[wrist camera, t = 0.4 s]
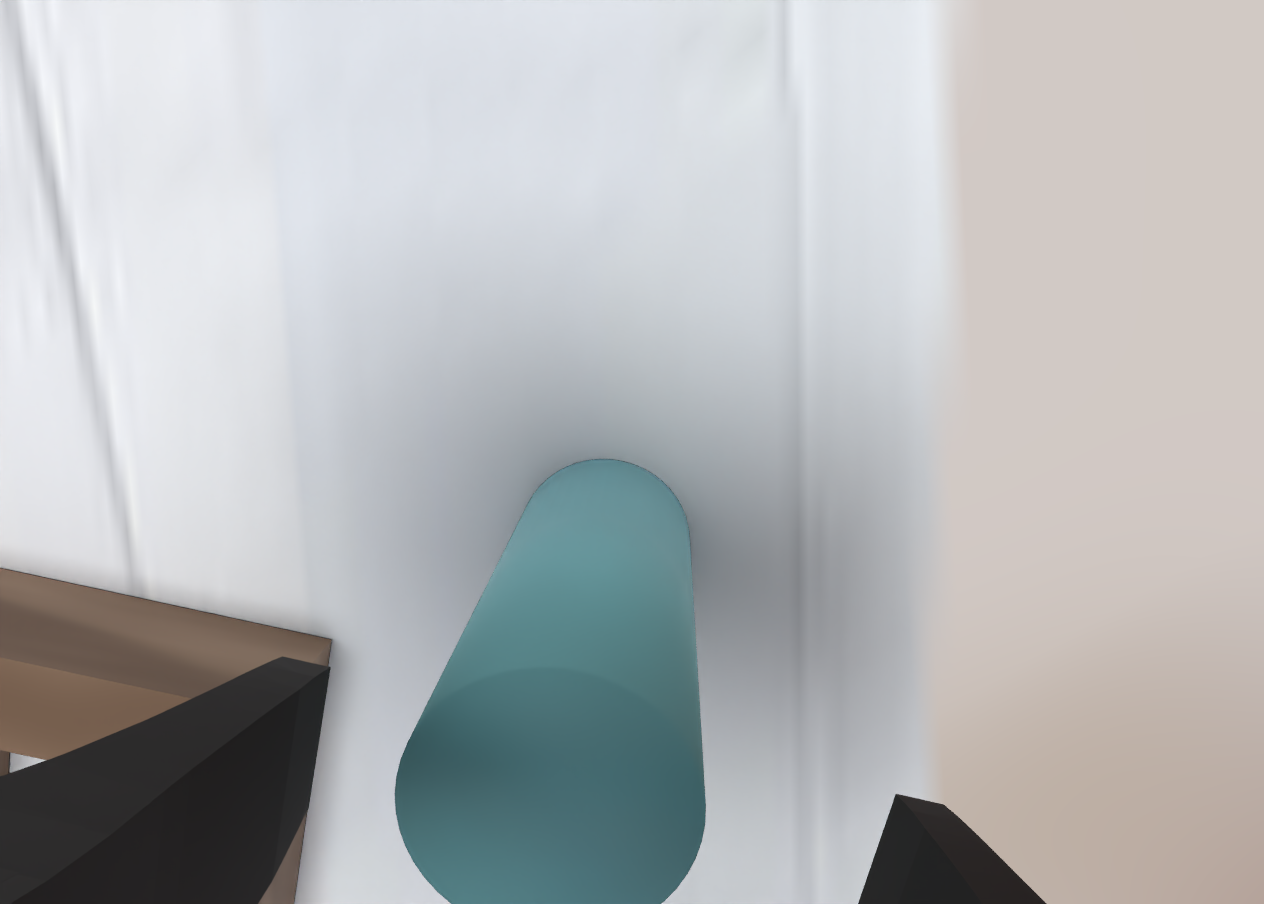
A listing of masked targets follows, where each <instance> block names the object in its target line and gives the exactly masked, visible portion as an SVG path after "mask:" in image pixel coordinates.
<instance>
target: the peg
mask: <svg viewBox="0 0 1264 904" xmlns="http://www.w3.org/2000/svg"><path fill="white" fill-rule="evenodd" d="M395 806H396V815H397V820H398V825H399V829H400V832H401V835H402V838H403V841H404V843H405V846H406V848H407V850H408V852H409V854H410V856H411V858H412V860H413V862H414V863H415V865H416V866H417V868H418V869H419V870H420V872H421V873H422V875H423V876H424V877H425V879H426V880H427V881H428V882H429V883H430V884H431V885H432V886H433V887H434V889H435V890H436V891H437V892H438V893H440V894H441V895H442V896H443V897H444V898H445V899H446V900H448V901H449V902H450V903H451V904H661V903H662V902H664V901H665V900H666V899H667V898H668V897H669V896H670V895H671V894H672V893H673V892H674V891H675V890H676V889H677V887H678V886H679V885H680V883H681V882H682V880H683V879H684V878H685V876H686V875H687V874H688V872H689V870H690V868H691V866H692V864H693V862H694V860H695V859H696V856H697V853H698V850H699V848H700V845H701V842H702V837H703V832H704V827H705V812H706V803H705V786H704V769H703V752H702V735H701V719H700V702H699V685H698V668H697V651H696V634H695V618H694V601H693V584H692V567H691V550H690V536H689V527H688V523H687V519H686V516H685V514H684V511H683V509H682V506H681V505H680V503H679V501H678V499H677V498H676V496H675V495H674V494H673V492H672V491H671V490H670V489H669V488H668V487H667V486H666V485H665V484H664V483H663V482H662V481H661V480H660V479H659V478H657V477H656V476H655V475H653V474H652V473H650V472H648V471H647V470H645V469H643V468H641V467H639V466H636V465H634V464H631V463H627V462H624V461H619V460H612V459H595V460H587V461H583V462H578V463H575V464H573V465H570V466H567V467H565V468H563V469H561V470H560V471H558V472H556V473H555V474H553V475H552V476H551V477H549V478H548V479H547V480H546V481H545V482H544V483H543V484H542V485H540V487H539V488H538V489H537V490H536V492H535V493H534V494H533V496H532V497H531V499H530V501H529V502H528V504H527V506H526V508H525V510H524V512H523V514H522V516H521V518H520V520H519V522H518V524H517V526H516V528H515V530H514V532H513V534H512V536H511V538H510V540H509V542H508V544H507V546H506V548H505V550H504V552H503V554H502V556H501V558H500V560H499V562H498V564H497V566H496V568H495V570H494V572H493V574H492V576H491V578H490V580H489V582H488V584H487V586H486V588H485V590H484V592H483V594H482V596H481V598H480V600H479V602H478V604H477V606H476V608H475V610H474V612H473V614H472V616H471V618H470V620H469V622H468V624H467V626H466V628H465V630H464V632H463V634H462V636H461V638H460V640H459V642H458V644H457V646H456V648H455V650H454V652H453V654H452V656H451V657H450V659H449V661H448V663H447V665H446V667H445V669H444V671H443V673H442V675H441V677H440V679H439V681H438V683H437V685H436V687H435V689H434V691H433V693H432V695H431V697H430V699H429V701H428V703H427V705H426V707H425V709H424V711H423V713H422V715H421V717H420V719H419V721H418V723H417V725H416V727H415V729H414V731H413V733H412V735H411V737H410V739H409V741H408V743H407V746H406V748H405V750H404V753H403V755H402V757H401V760H400V764H399V768H398V772H397V776H396V787H395Z"/></svg>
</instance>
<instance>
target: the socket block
mask: <svg viewBox="0 0 1264 904" xmlns="http://www.w3.org/2000/svg"><path fill="white" fill-rule="evenodd" d="M331 641H332V640H331V639H326V638H321V637H317V636H312V635H307V634H303V633H298V632H293V631H289V630H284V629H280V628H275V627H270V626H266V625H261V624H256V623H252V622H247V621H242V620H238V619H233V618H229V617H224V616H219V615H215V614H210V613H205V612H201V611H196V610H191V609H187V608H182V607H178V606H173V605H168V604H164V603H159V602H154V601H150V600H145V599H140V598H136V597H131V596H127V595H122V594H117V593H113V592H108V591H103V590H99V589H94V588H89V587H85V586H80V585H76V584H71V583H66V582H62V581H57V580H52V579H48V578H43V577H38V576H34V575H29V574H25V573H20V572H15V571H11V570H6V569H1V568H0V776H3V775H6V774H8V771H9V752H12V753H16V754H21V755H26V756H30V757H35V758H40V759H44V760H49V759H52V758H54V757H57V756H60V755H62V754H65V753H68V752H70V751H72V750H75V749H77V748H80V747H82V746H84V745H87V744H89V743H92V742H94V741H96V740H99V739H101V738H104V737H106V736H108V735H111V734H113V733H116V732H118V731H120V730H123V729H125V728H128V727H130V726H132V725H135V724H137V723H140V722H142V721H144V720H147V719H149V718H151V717H154V716H156V715H158V714H160V713H162V712H164V711H166V710H168V709H171V708H173V707H175V706H177V705H179V704H181V703H183V702H186V701H188V700H190V699H192V698H194V697H196V696H198V695H201V694H203V693H205V692H207V691H209V690H211V689H213V688H215V687H217V686H219V685H221V684H223V683H226V682H228V681H230V680H232V679H234V678H236V677H238V676H240V675H242V674H244V673H246V672H248V671H250V670H252V669H255V668H257V667H259V666H261V665H263V664H265V663H268V662H270V661H272V660H275V659H277V658H280V657H282V656H283V657H288V658H292V659H296V660H301V661H305V662H310V663H314V664H319V665H323V666H328V662H329V655H330V648H331ZM306 815H307V812H306V814H305V816H304V818H303V820H302V822H301V825H300V827H299V829H298V831H297V833H296V835H295V837H294V839H293V841H292V843H291V845H290V847H289V849H288V851H287V853H286V855H285V857H284V859H283V861H282V863H281V865H280V867H279V869H278V871H277V873H276V875H275V877H274V879H273V881H272V883H271V884H270V886H269V887H268V889H267V891H266V892H265V894H264V895H263V897H262V898H261V900H260V901H259V903H258V904H294V899H295V892H296V885H297V878H298V871H299V864H300V857H301V850H302V843H303V836H304V829H305V822H306Z"/></svg>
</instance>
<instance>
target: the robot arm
mask: <svg viewBox="0 0 1264 904" xmlns="http://www.w3.org/2000/svg"><path fill="white" fill-rule="evenodd" d="M329 673H330V667H328V666H323V665H319V664H314V663H310V662H305V661H301V660H296V659H292V658H288V657H283V656H282V657H280V658H277V659H275V660H272V661H270V662H268V663H265V664H263V665H261V666H259V667H257V668H255V669H252V670H250V671H248V672H246V673H244V674H242V675H240V676H238V677H236V678H234V679H232V680H230V681H228V682H226V683H223V684H221V685H219V686H217V687H215V688H213V689H211V690H209V691H207V692H205V693H203V694H201V695H198V696H196V697H194V698H192V699H190V700H188V701H186V702H183V703H181V704H179V705H177V706H175V707H173V708H171V709H168V710H166V711H164V712H162V713H160V714H158V715H156V716H154V717H151V718H149V719H147V720H144V721H142V722H140V723H137V724H135V725H132V726H130V727H128V728H125V729H123V730H120V731H118V732H116V733H113V734H111V735H108V736H106V737H104V738H101V739H99V740H96V741H94V742H92V743H89V744H87V745H84V746H82V747H80V748H77V749H75V750H72V751H70V752H68V753H65V754H62V755H60V756H57V757H54V758H52V759H49V760H46V761H44V762H41V763H38V764H35V765H32V766H30V767H27V768H24V769H21V770H18V771H15V772H12V773H9V774H6V775H3V776H0V904H258V903H259V901H260V900H261V898H262V897H263V895H264V894H265V892H266V891H267V889H268V887H269V886H270V884H271V883H272V881H273V879H274V877H275V875H276V873H277V871H278V869H279V867H280V865H281V863H282V861H283V859H284V857H285V855H286V853H287V851H288V849H289V847H290V845H291V843H292V841H293V839H294V837H295V835H296V833H297V831H298V829H299V827H300V825H301V822H302V820H303V818H304V816H305V814H306V812H307V810H308V808H309V801H310V795H311V788H312V782H313V776H314V769H315V763H316V756H317V750H318V744H319V737H320V731H321V724H322V718H323V711H324V705H325V699H326V692H327V686H328V679H329ZM858 904H1046V903H1045V902H1044V901H1043V900H1042V899H1041V898H1040V897H1039V896H1038V895H1037V894H1036V893H1035V892H1034V891H1033V890H1032V889H1031V888H1030V887H1029V886H1028V885H1027V884H1026V883H1025V882H1024V881H1023V880H1022V879H1021V878H1020V877H1019V876H1018V875H1017V874H1016V873H1015V872H1014V871H1013V870H1012V869H1011V868H1010V867H1009V866H1008V865H1007V864H1006V863H1005V862H1004V861H1003V860H1002V859H1001V858H1000V857H999V856H998V855H997V854H996V853H995V852H994V851H993V850H992V849H991V848H990V847H989V846H988V845H987V844H986V843H985V842H984V841H983V840H982V839H981V838H980V837H979V836H978V835H976V833H975V832H974V831H972V829H971V828H969V827H968V826H967V825H966V824H965V823H964V822H963V821H962V820H961V819H960V818H959V817H958V816H956V815H955V814H954V813H953V812H951V810H949V809H948V808H947V807H946V806H945V805H943V804H939V803H934V802H930V801H925V800H921V799H916V798H912V797H907V796H903V795H898V794H896V795H895V798H894V801H893V804H892V807H891V810H890V813H889V815H888V818H887V821H886V824H885V827H884V830H883V833H882V836H881V839H880V842H879V845H878V848H877V850H876V853H875V856H874V859H873V862H872V865H871V868H870V871H869V874H868V877H867V880H866V883H865V885H864V888H863V891H862V894H861V897H860V900H859V903H858Z"/></svg>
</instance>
